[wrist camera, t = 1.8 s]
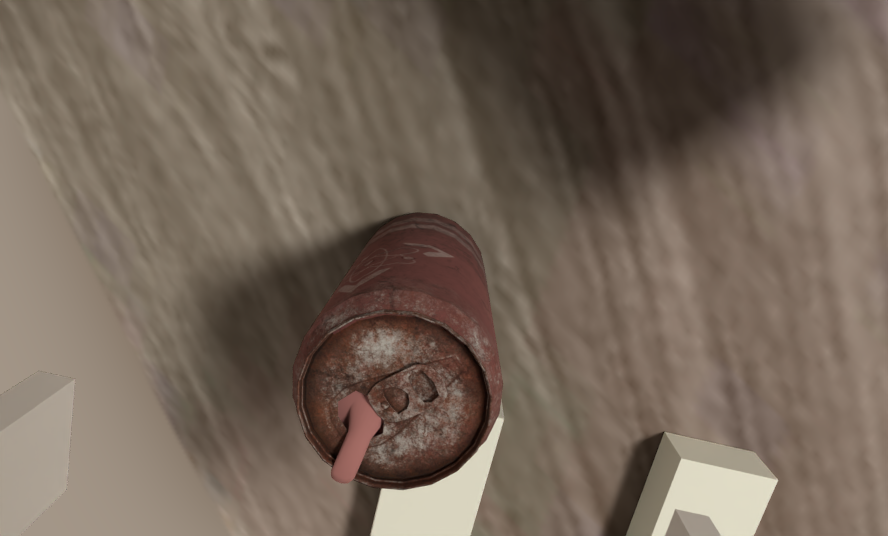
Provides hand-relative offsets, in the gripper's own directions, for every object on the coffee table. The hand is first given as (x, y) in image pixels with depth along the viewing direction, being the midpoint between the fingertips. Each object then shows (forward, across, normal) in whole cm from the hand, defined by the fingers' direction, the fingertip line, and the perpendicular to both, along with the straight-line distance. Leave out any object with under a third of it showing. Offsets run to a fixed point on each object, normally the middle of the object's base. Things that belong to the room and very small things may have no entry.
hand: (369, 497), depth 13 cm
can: (+18, 0, 0) cm, 18 cm away
